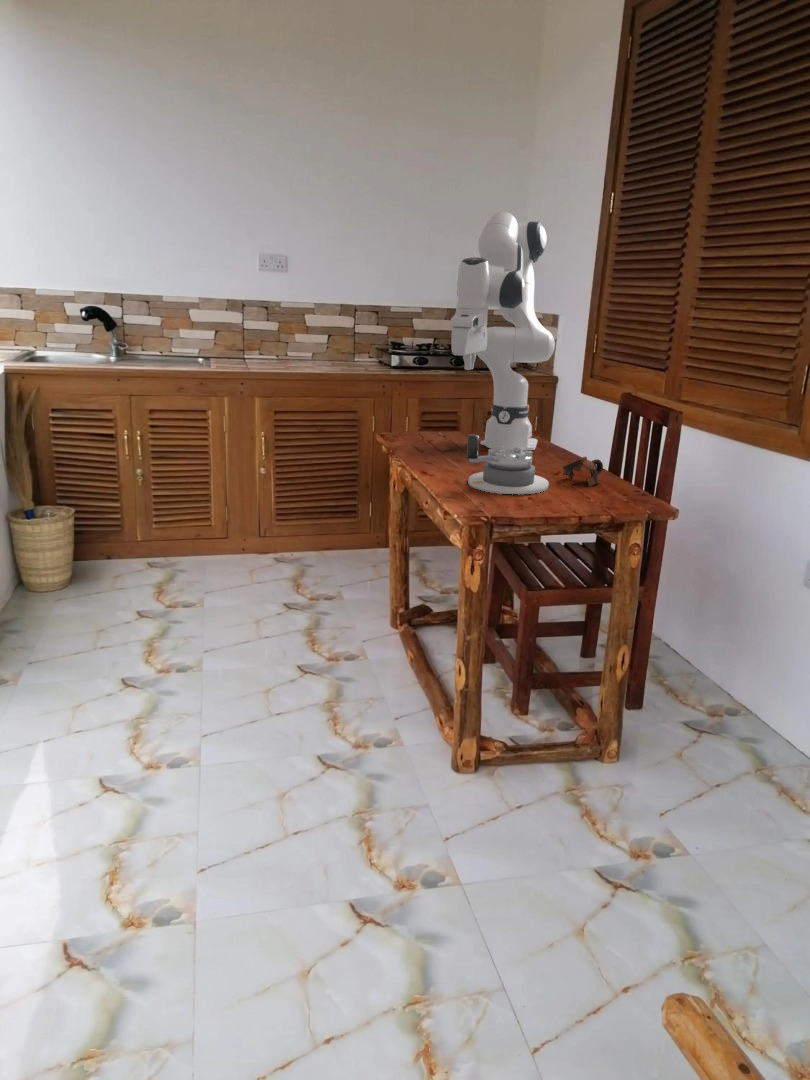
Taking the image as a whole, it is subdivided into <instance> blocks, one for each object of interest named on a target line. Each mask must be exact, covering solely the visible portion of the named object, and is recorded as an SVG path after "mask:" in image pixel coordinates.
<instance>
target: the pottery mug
mask: <svg viewBox="0 0 810 1080" xmlns="http://www.w3.org/2000/svg"><path fill="white" fill-rule="evenodd" d="M582 465H583V466H584V469H586V470H587V471H589V473H590V476H589V478H587V479H586V481H587V484H588V487H592V486H594V485H596V484H598V483H599V478H598V477H599V475H600V474H601V473H602V471H603V468H604V465H603V462H602V461H601V460H600V459H598V458H597V459H594V460H589V459H588V458H587V456H583V457H580V458H578V459H576V460H574V461H572V462H571V463H568V464H565V465H564V466H562V469H563V473H562V474H563V476H567V477H568V478H569V479H573V477H574V478H575V473H574V471H576V472H582V470H581V467H582Z"/></svg>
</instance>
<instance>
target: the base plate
mask: <svg viewBox="0 0 810 1080" xmlns="http://www.w3.org/2000/svg"><path fill="white" fill-rule="evenodd" d="M535 472H536V467H535V465H533V464H532V466H531V468H529V469H526V470H502V469H496V468H493V467H490V466H488V461H487V462H485V463H484V464H483V471H480V472H476V473H473V474H471V475H470V476H469V477H468V481H467V482H468V485H469V487H471V488H472V489H475V490H477V489H478V491H480V490H481V491H480V492H484V491H485V493H488V492H490V494H494V493H497V494H496V495H502V494H512V495H511V496H514V495H513V494H518V495H517V496H525V495H524V494H531V495H535V493H537V494H541V493H544V492H546V491H548V489H549V486H550V485H549V484H550V483H549V482H550V481H548V480H547V479H546V478H545V477H543V476H539V475H536V474H535ZM543 491H544V492H543ZM540 492H541V493H540ZM520 494H521V495H520Z"/></svg>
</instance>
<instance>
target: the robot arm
mask: <svg viewBox="0 0 810 1080" xmlns="http://www.w3.org/2000/svg"><path fill="white" fill-rule="evenodd" d="M547 240H548V237H547V233H546V229H545V227H544V225H543V224H542V223H541V222H540V221H529V222H519V223H518V221H517V219H516V217H515V216H514V214H512V213H509V212H507V211H499V212H497V213H495V214H493V215H492V216H491V217H490V218H489V220H488V221H487V222H486V224H485V226H484V227H483V229H482V231H481V234H480V236H479V239H478V243H477V244H478V247H477V249H478V253H479V255H480V257H467V258H466V257H465V258H464V259H462V260H461V261H460V264H459V270H458V276H457V282H456V283H457V285H456V286H457V287H456V288H457V289H456V295H457V304H456V306H455V307H456V308H455V309H456V310H455V313H454V315H453V316H452V317H451V319H450V327H452V329H451V337H450V338H451V341H450V343H451V345H450V347H451V352H452V355H453V356H461V357H462V359H463V362H464V367H463V368H464V370H466V371H471V370H473V369H474V365H475V362H476V358H477V357H478V358H479V359H480V361H481V360H482V362H483V363H484V364H485V365H486V366H487V367H488V370H489V371H490V373H491V377H492V380H493V381H492V382H493V403H492V405H491V409H490V410H491V413H490V415H491V416H490V418H489V419H487V420H486V425H485V431H484V432H485V433H484V439H483V440H480V441H479V442H480V443H479V444H480V445H482V446H485V447H486V448H489V449H495V447H499V446H503V447H506V450H514V448H515V447H521V448H524V451H535V450H536V448H537V445H538V439H537V438H535V437H534V438H533V433H532V431H533V425H532V423H531V422H530V419H529V417H528V416H529V409H530V405H529V404H528V395H529V382H528V380H527V379H526V377H525V376H523V375H521V374H520V373H518V372H516V371H515V370H513V369H512V368H511V363H512V364H513V363H522V364H523V363H525V364H526V363H528V364H534V363H542V362H547V361H549V359H550V358H551V357H552V356H553V354H554V351H555V347H556V342H555V338H554V335H553V334H552V333H551V331H549V330H548V329H547V328H545V327H544V326H543V325H542V324H541V322H540V321H539V319H538V317H537V315H536V310H535V290H536V288H535V287H536V286H535V285H536V284H535V283H536V282H535V281H536V280H535V273H534V272H535V271H534V267H533V264H532V262H533V263H537V262H538V260H539V258H540V257H541V256H542V255H543V254H544V251H545V250H546V247H547ZM490 266H492V267H496V268H502V269H503V271H497V270H496V271H494V270H490ZM489 307H490V308H491V307H496V308H499V312H500V314H501V316H502V317H503V318H504V320H506V321H507V322H509V323H511V324H512V325H514V326H515V327H513V326H490V327H489V326H488V313H489ZM487 326H488V327H487Z"/></svg>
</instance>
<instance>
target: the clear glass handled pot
mask: <svg viewBox="0 0 810 1080" xmlns="http://www.w3.org/2000/svg"><path fill="white" fill-rule="evenodd" d="M466 441H467V444H466V445H467V446H466V458H467V459H468V462H469V463H472V464H474V463H475V464H476V463H484V462H485V463H487V462H488V466H490V467H493V468H496V469H502V470H526V469H529V468H531V466H532V465H533V450H524V448H521V447H515V448H514V450H506V447H503V446H499V447H495V449H491V448H489V449H488V451H487V452H488V453H487V455H479V446H480V445H479V444H480V443H479V442H480V435H479V434H476V433H475V434H473V433H471V434H470V433H469V434H467V440H466Z"/></svg>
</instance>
